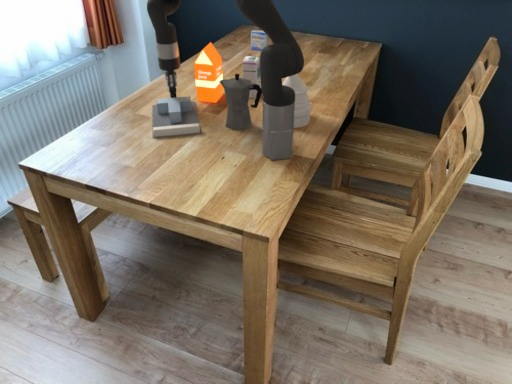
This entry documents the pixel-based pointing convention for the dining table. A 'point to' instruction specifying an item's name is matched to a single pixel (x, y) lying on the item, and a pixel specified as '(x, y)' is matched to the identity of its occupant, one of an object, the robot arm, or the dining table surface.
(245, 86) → the coffeepot
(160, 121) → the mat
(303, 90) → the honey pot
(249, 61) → the syrup box
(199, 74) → the orange juice
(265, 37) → the medicine box
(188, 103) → the t block
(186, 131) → the rail
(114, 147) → the dining table surface
